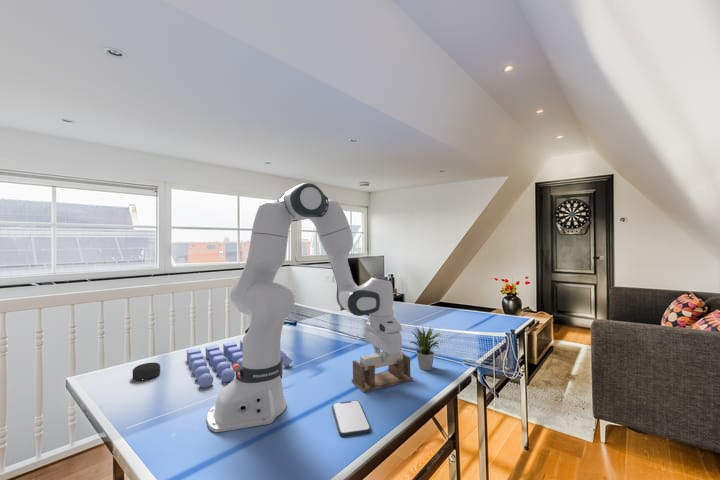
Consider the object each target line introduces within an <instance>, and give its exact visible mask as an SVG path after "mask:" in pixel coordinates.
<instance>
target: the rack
mask: <svg viewBox="0 0 720 480" xmlns="http://www.w3.org/2000/svg"><path fill="white" fill-rule="evenodd" d="M408 381H409V382H411V381H413V376H411V357H410V356H409V355H407V354H405V353H403V359H401V360H397V364H393V365H389V366H388V370H386V371H382V372H377V373H376V368H375V366H374V365H373V366H368V370H367V371H365V367H364V366H362V365H361V364H360V362H358V361H357V360H355V359H354V360H352V378H351V383H352V384H353V385H354V386H356V388H358V389H359V390H360V391H361V393H367V392H371V391H375V390H378V389H382V388H386V387H390V386H394V385H398V384H402V383H405V382H408Z"/></svg>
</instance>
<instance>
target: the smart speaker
mask: <svg viewBox="0 0 720 480" xmlns="http://www.w3.org/2000/svg"><path fill="white" fill-rule="evenodd" d="M160 374H161V364H160V363H158V362H146V363H142V364H139V365H136V366H135V367H134V368H133V369H132V379H133V380H135V379H136V380H135V381H143V380H142V379H148V380H150V379H149V378H151V379H154V378H155V376H156V377H158V376H159V375H160ZM157 375H158V376H157ZM153 377H154V378H153Z"/></svg>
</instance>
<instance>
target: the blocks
mask: <svg viewBox="0 0 720 480" xmlns="http://www.w3.org/2000/svg"><path fill="white" fill-rule="evenodd" d="M242 341H243V339H242V340H239V346H238V344H237V343H236V342H235V341H230V342H229V341H228V342H224V343H223V345H222V346H223V347H222V350H223V351H222V350H221V349H220V346H219V345H218V344H213V345H208V346H205V357H204V355H203V353H202V350H201V348H200V347H197V348H196V347H195V348H191V349H190V348H189V349H186V361H188V362H187V363H189V364H188V365H189V366H188V367H189V369H190V370H191V372H192V374H193V376H194V378H195V380H196V381H197V384H198V385H199V387H200V388H202V389H206V388H209V387H211V386H212V385H213V383H214V376H213V375H212V374H211V370H210V368H209V367H208V364H209V365H210V364H211V365H210V366H212V369H213V370H214V371H216V374H217V376H219V377H220V380H221V381H222V382H224V383H230V382H232V381H233V380H234V379H235V378H236V374H235V372H234V371H233V368H232V367H231V364H232V366H233V365H234V364H236V363H237V364H238V365H239V366H240V365H241V364H242V363H243V346H242ZM281 349H282V348H281V347H280V359H281V360H282V366H283V367H285V368H288V367H289V366H290V364H291V363H292V362H293V360H292V359H291V357H289V356H287V354H286V353H285V352H284V351H282V350H281ZM224 354H225V355H224ZM205 358H206V359H209V360H208V364H207V361H206V360H205ZM227 360H228V361H229V362H231V364H230V363H229V362H228V361H227Z"/></svg>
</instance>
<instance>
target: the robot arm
mask: <svg viewBox="0 0 720 480" xmlns="http://www.w3.org/2000/svg"><path fill="white" fill-rule="evenodd" d="M305 220H310V221H311V222H312V224H313V225H314V226H315V228H316V231H317V235H318V237H319V240H320V243H321V245H322V247H323V250H324V252H325V254H326V256H327V258H328V261H329V263H330V266H331V269H332V274H333V277H334V279H335V283H336V302H337V304H338V305H339V307H340V308H341V309H342V310H345V311H347V312H349V313H350V314H352V315H354V316H356V317H363V316H367V315H368V317H367V319H366V323H365V325H364V334H363V335H364V337H363V338H364V340H365V342H367V343H369V344H371V345H372V346H373V347H372V348H373V351H374V354H375V353H380V352H381V351H382V352H383V353H384V355H383V357H382V362H384V363H387V362H388V357H389V355H392V356H394V355H399V354H400V353H401V351H403V349H402V348H403V347H402V344H403V343H402V341H403V339H402V334H401V332H402V330H403V326H402V324H401V323H400V322H399V321H398V320H397V319H396V317H395V316H394V315H395V314H394V309H393V305H394V287H393V283H392V281H391V280H390V279H389V278H385V277H381V276H371V277H370V278H369V279H368V280H367V281H365V282H363V283H362V284H361V285H357V283H356V282H355V280H354V278H353V275H352V271H351V268H350V265H349V254H350V252H351V251H352V249H353V247H354V238H353V232H352V230H351V225H350V223H349V221H348V218H347V216H346V214H345V212H344V210H343V208H342V205H340V203H339V202H338V201H337V200H336V199H330V198H328V197H327V195H326V194H324V192H323V190H322V189H321V188H320V187H319V186H318V185H316V184H314V183H310V182H303V183H300V184H297V185H295V186H293V187H290V189H288V190H287V191H285V192H284V193H283V194H282V195H281V196H280V197H279V199H278V200H277V201H276V200H266V201H264V202H262V203H260V204H259V206H258V208H257V210H256V213H255V216H254V219H253V224H252V228H251V229H252V230H251V236H250V242H249V248H248V254H247V258H246V261H245V262H246V263H245V265H244V268H243V270H242V273H241V275H240V278H239V280H238V281H237V282H236V283H235V285H234V286H233V287H232V288H231V290H230V295H229V299H230V302H231V304H232V305H233V306H234V307H235V309H236V310H238V312H240V313H242V314H246V315H249V318H250V320H249V327H248V330H247V333H245V335H244V336H243V338H242V340H243V341H242V346H243V363H242V364H241V365H240V366H239V365H238V364H237V363H236V364H234V365H233V364H232V367H231V369H232V370H233V371H234V372H235V377H234V379H233V380H232V381H231V382H228V384H227V385H225V386H224V387H223V388H222V389H221V390H219V392H218V394H217V397H216V401H215V404H214V406H212V407H211V408H210V409H209V410H208V411H207V415H206V424H207V427H208V429H209V430H210V431H211V432H213V433H220V432H226V431H227V432H228V431H233V430H239V429H246V428H251V427H257V426H263V425H269V424H272V423H273V422H274V421H275V419H276V418H277V417H278V416H280V415H281V414H282V413H283V412H284V411H285V410H286V408H287V401H286V399H285V395H284V389H283V382H282V379H283V365H282V360H281V359H280V348H281V339H282V331H283V327H284V324H285V321H286V319H287V318H288V317H289V316H290V315H291V314H292V312H293V310H294V307H295V296H294V294H293V292H292V291H291V290H290V289H289V288H287V287H286V286H285V285H283V284H280V283H279V282H274V280H275V277H276V275H277V273H278V271H279V269H281V268H282V267H283V266H284V264H285V262H286V254H287V249H288V248H287V247H288V242H289V241H288V240H289V231H290V227H291V224H292V222H298V221H305Z"/></svg>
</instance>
